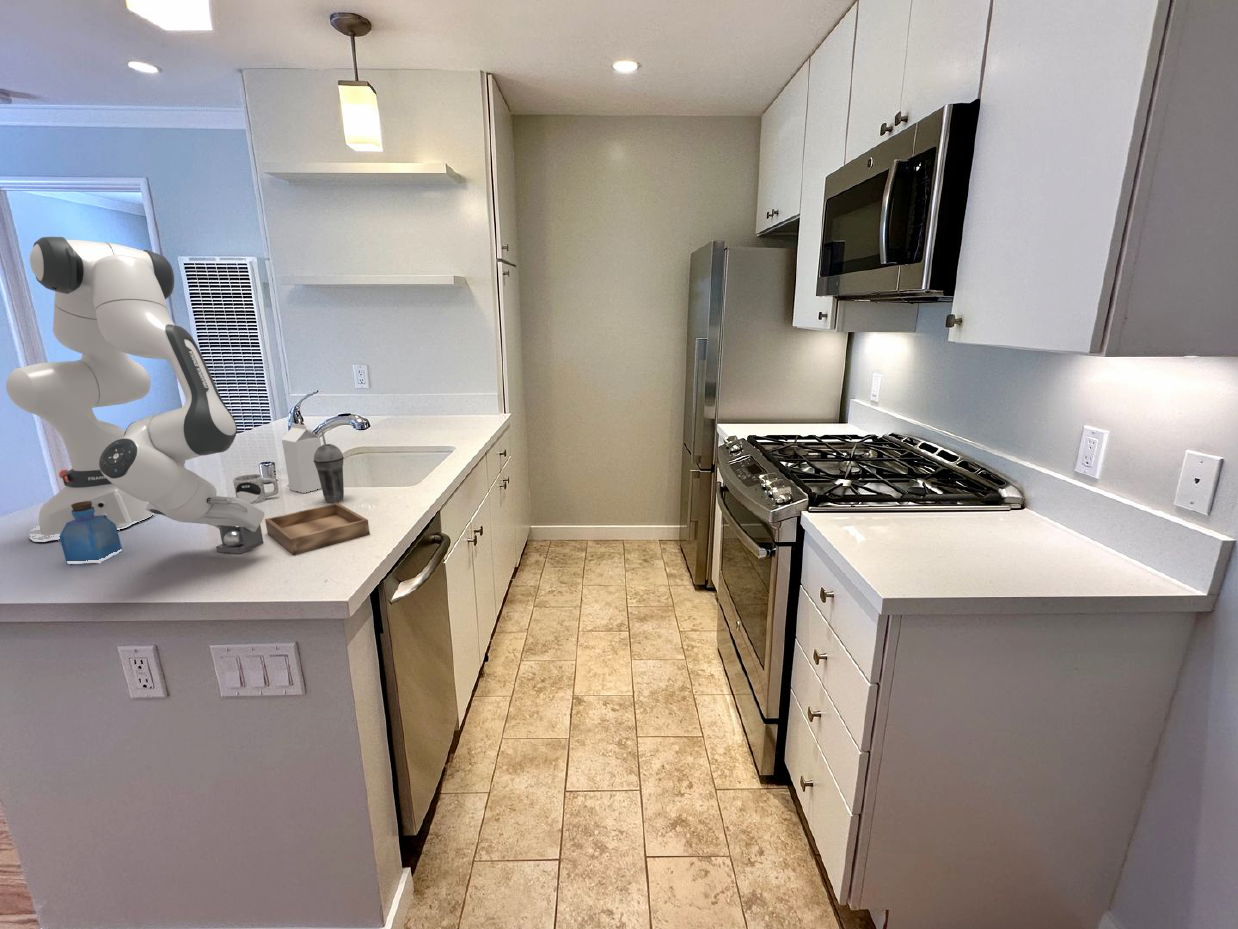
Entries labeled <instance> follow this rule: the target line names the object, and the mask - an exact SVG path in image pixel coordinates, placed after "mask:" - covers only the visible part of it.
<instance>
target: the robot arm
mask: <svg viewBox="0 0 1238 929" xmlns="http://www.w3.org/2000/svg"><path fill="white" fill-rule="evenodd" d="M29 265H30V268H31V271H32V273H33V274H34V276H35V279H36V280H37V282H38V283H39V284H40V285H42V286H43V288H45V289H47V290H50V291H53V292H54V303H53V318H52V319H53V323H52V332H53V335H54V338H55V339H56V340H57V341H58V342H59V343H60V344H61V345H63V346H64V348H65V347H66V348H68V349H70V350H71V351H74V352H76V353H79V354H81V358H80V359H79V360H71V361H69V360H68V361H66V360H65V361H55V362H54V361H53V362H39V363H35V364H30V365H26V366H23V367H18V368H17V367H16V368H15V369H13V370H12V371H11V373H10V374H9V375H8V377H7V379H6V383H5V388H6V392H7V395H8V397H9V399H10V400H11V401H12V402H13V403H14V404H15V405H16V406H17V407H18V408H20V409H22V410H24V411H26V412H28V413H31V414H33V415H36V416H37V417H40V419H43V420H44V421H46V422H47V423H48V424H49V425H51V426H52V427H53V428H54V430H56V431H57V433H58V434H59V436H60V437H61V439H62V441H63V443H64V446H65V449H66V451H67V455H68V458H69V460H70V461H69V462H70V463H71V469H70V470H68V469H61V470H60V471H59V472H58V476H59V478H60V479H62V481H63V485H64V486H65V487H63V488H62V489H61V490H60V491H59V492H57V493H56V494H54V495H53V496H52V497H51V498H49V500H47V501H46V502H45V503H43V505H42V506H41V507H40V510H39V513H38V525H39V526H40V530H34V531H30V530H29V531H30V532H28V535H29V534H41V535H44V536H42V537H39V538H33V537H35V536H36V535H35V536H32V538H33V539H38V540H43V539H49V538H51V537H52V536H51V537H50V535H55V534H61V533H62V531H63V529H64V527H65V525H66V523H67V522H70V521H72V520H75V516H72V512H71V511H72V510H73V508H72V507H71V505H72V504H74V503H78V502H84V501H91V502H92V507H94V509H95V513H94V516H101V515H104V516H105V517H106V518H108V519H109V520H110V521H112V522H113V523H114V524H116V527H117V528H122V527H125V526H127V525H129V524H130V523H132V522H134V521H140V520H142V519H145V518H147V517H149V516H151V515H153V513H154V515H161V516H164V517H165V518H168V519H170V520H172V521H177V522H180V523H189V524H199V525H200V524H201V525H207V526H212V527H215V528H217V529H218V530H219V525H223V526H236V527H244V529H245V530H247V531H250V532H255V531H256V530H257V528H258V527H259V525H260V526H261V524H262V522H263V520H264V518H265V512H264V511H263V509H261V508H259V507H256V506H255V504H250V503H248V502H246V501H244V500H242V499H239V498H236V497H234V496H233V497H232V496H222V495H221V496H220V495H219V496H218V495H217V488H216V487H215V486H214V484H213V483H211V482H210V481H209V480H206V479H205V478H204V477H202V476H201V475H199V474H197V473H196V472H194V471H192V470H189V469H188V468H186V467H185V464H186V461H189V460H191V459H195V458H198V457H202V456H210V455H214V454H218V453H219V454H220V453H224V452H226V451H228V450H229V449H230V448H231V446H232V445H233V443H234V441H235V439H236V436H237V434H238V427H237V423H236V421H235V418H234V416H233V415H232V413H231V412H230V410H229V409H228V407H227V405H226V404H225V402H224V401H223V399H222V396H221V394H220V393H219V391H218V388H217V386H216V382H215V381H214V379H213V376H212V374H211V373H210V370H209V368H208V365H207V363H206V360H205V359H204V356H203V355H202V353H201V350H200V348H199V346H198V344H197V343H196V341H195V339H194V338H193V337H192V335H191V333H190V332H188V331H187V330H186V329H184V328H183V327H181V326H179V325H176V324H175V323H174V321H173V320H172V318H171V316H170V313H169V312H170V311H169V308H168V304H167V301H166V300H167V299H168V298H169V297H170V296H171V295H172V294H173V291H174V288H175V274H174V270H173V267H172V265H171V263H170V262H169V260H168V259H167V258H166V257H165V256H164V255H162V254H159V253H156V252H153V251H150V250H148V249H143V250H141V249H138V248H134V247H130V246H126V245H122V244H117V243H113V242H112V243H111V242H106V241H105V242H99V241H92V240H83V239H66V238H65V237H63V236H43V237H40V238H39V239H37V240H36V241H35V242H34V243H33V246H32V249H31V252H30V255H29ZM129 355H131V356H135V357H140V358H147V359H157V360H166V361H168V363H169V364H170V366H171V367H172V369H173V371H174V373H175V376H176V378H177V381H178V383H179V386H180V387H181V390H182V392H183V394H184V396H185V402H184V404H183V406H182V407H179V408H175V409H172V410H169V411H165V412H162V413H157V414H154V415H150V416H147V417H143V418H140V419H138V420H135V421H133V422H131V423H130V424H129V425H128V426H127V427H126V428H125V430H124V429H123V428H121V426H119V425H116V424H114V423H110V422H106V421H101V420H99V419H98V417H97V416H96V415H95V413H94V411H93V408H103V407H111V406H118V405H125V404H128V403H131V402H135V401H137V400H141V399H144V398H145V397H146V396H147V395H148V394H149V392H150V389H151V385H152V384H151V377H150V375H149V373H148V371H147V369H146V368H145V367H144V366H143V365H142V364H141V363H139V362H137V361H135V360H134V359H132V358H131V357H130V356H129ZM154 515H153V516H154ZM34 527H35V528H36V526H34ZM47 536H48V537H47ZM30 537H31V536H30ZM43 537H44V538H43ZM53 537H54V536H53Z"/></svg>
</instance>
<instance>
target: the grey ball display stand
mask: <svg viewBox="0 0 1238 929" xmlns="http://www.w3.org/2000/svg"><path fill="white" fill-rule="evenodd" d="M218 531H219V535H220V539H221V544H218V545H217V546H215V548H216V551H217V553H224V552H230V553H229V554H235V553H237V555H241V554H240V553H242V554H244V553H246V552H248V551H250V550H253V549H255V548H257V547H259V546H261V545H264V538H263V537H264V536H263V532H262V526H261V524H260V525H259V527H258V528H257V530H256V531H255V532H250V531H247V530H245V529H244V527H236V526H223V525H219V529H218ZM230 531H239V532H241V535H242V541H243V542H242V543H241V544H240V545H239V546H237V547H229V546H227V545H226V544H225V542H224V536H225V535H226V534H227V533H228V532H230ZM256 546H257V547H256ZM254 547H255V548H254ZM252 548H253V549H252ZM243 552H244V553H243ZM238 553H239V554H238Z"/></svg>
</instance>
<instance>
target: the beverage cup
mask: <svg viewBox="0 0 1238 929" xmlns="http://www.w3.org/2000/svg"><path fill="white" fill-rule="evenodd" d="M320 432H321V437H322V442H323V445H322V444H321V446H320V447H319V448H318V449H317V450H316V452H315V454H314V463H315V466H316V469H317V471H318V475H319V479H320V483H321V487H322V489H321V492H322V495H323V498H324V501H326V502H327V504H335V502H337V503H340V502H339V501H341V500H343V498H344V494H345V490H344V488H345V487H344V460H345V457H344V455H343V453H342V450H341V449H340V448H339V447H338V446H336V445H334V444H332V443H331V444H330V443H327V442H326V438H325V434H324V428H320ZM344 499H345V498H344ZM343 501H344V500H343ZM326 502H325V503H326ZM341 502H342V501H341Z"/></svg>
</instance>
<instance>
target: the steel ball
mask: <svg viewBox="0 0 1238 929" xmlns="http://www.w3.org/2000/svg"><path fill="white" fill-rule="evenodd" d="M224 542H225V544H226V545H227V546H229V547H237V546H239V545H240V544H241V543H242V542H243V541H242V535H241V532H239V531H230V532H228V533H227V534H226V535H225V536H224Z"/></svg>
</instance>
